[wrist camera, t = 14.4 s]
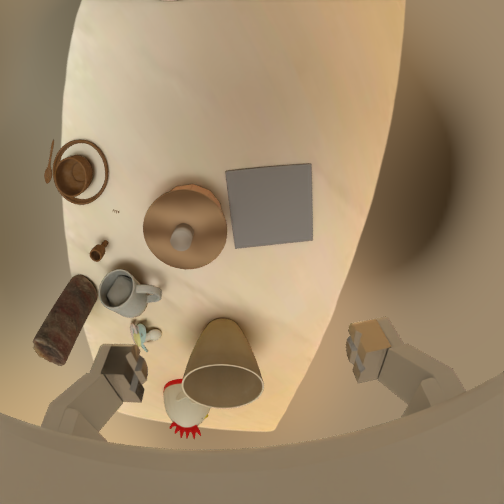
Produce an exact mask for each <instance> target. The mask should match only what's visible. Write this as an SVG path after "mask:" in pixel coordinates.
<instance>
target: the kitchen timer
mask: <svg viewBox="0 0 504 504" xmlns="http://www.w3.org/2000/svg"><path fill="white" fill-rule="evenodd" d="M182 380H183V379H176V380H172V381H170V382H168V383H167V384H166V385H165V387H164V392H163V396H164V404H165V409H166V412H167V414H168V416H169V418H170V419H171V420H172V422H173V423H172V424H171V426H170V429H171V428H172V427H173V426H176V430H175V433H177V432H178V431H179V430H180V436H181V438H182V436H183V433H184V431H185V432H186V438H188V435H189V432H192V434H193V438H194V439H195V433H196V432H197V433H198V434H199V435H200V436H201V433H200V430H199V429H198V427H197V426H198V425H199V424H201V423H202V421H203V420H204V419H205V418H207V417H208V413H209V410H210V408H211V407H206V406H203V405H200V404H198V403H196V402H194V401H192V400H191V399H189V398H188V397H187V396H186V395H185V393H184V392H183V390H182Z"/></svg>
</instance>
